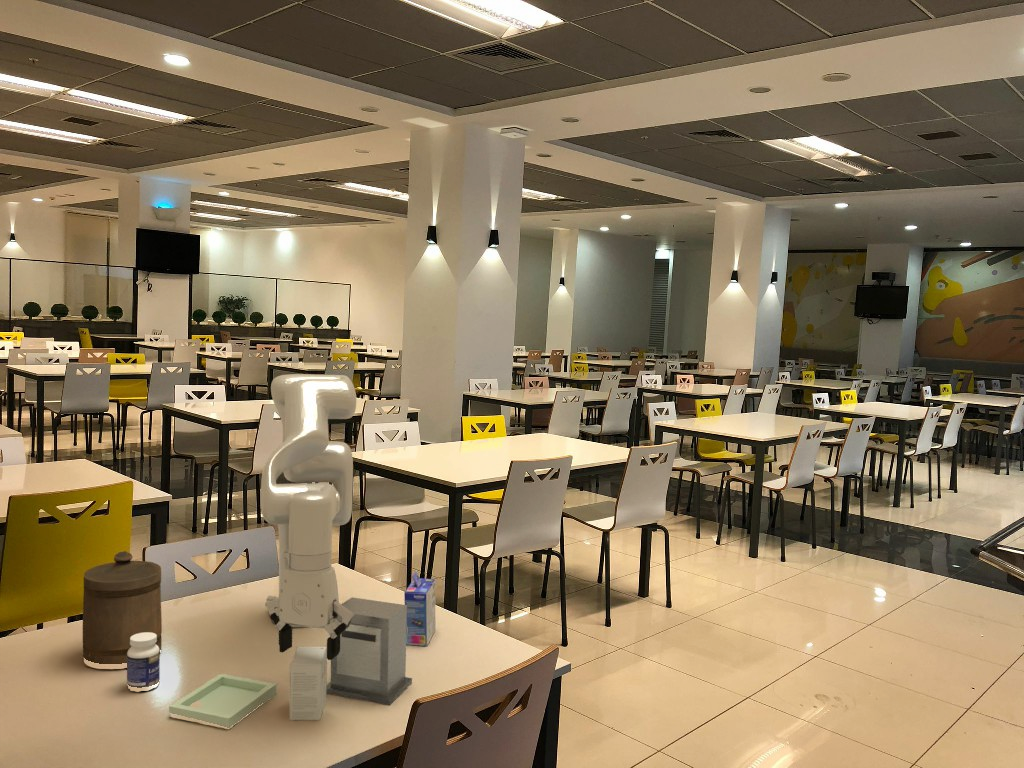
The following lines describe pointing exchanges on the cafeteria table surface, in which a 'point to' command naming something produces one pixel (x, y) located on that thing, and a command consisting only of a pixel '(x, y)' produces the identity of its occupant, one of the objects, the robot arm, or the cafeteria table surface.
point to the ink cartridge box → (420, 611)
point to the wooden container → (120, 607)
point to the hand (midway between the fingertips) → (309, 653)
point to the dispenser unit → (371, 653)
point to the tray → (224, 699)
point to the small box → (308, 683)
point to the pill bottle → (143, 660)
